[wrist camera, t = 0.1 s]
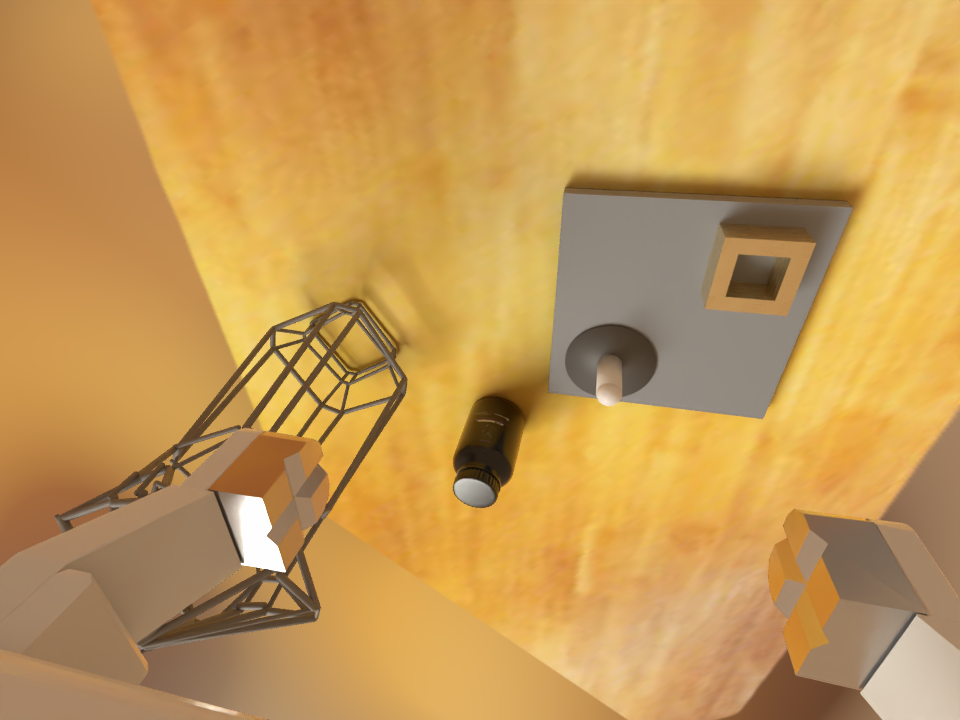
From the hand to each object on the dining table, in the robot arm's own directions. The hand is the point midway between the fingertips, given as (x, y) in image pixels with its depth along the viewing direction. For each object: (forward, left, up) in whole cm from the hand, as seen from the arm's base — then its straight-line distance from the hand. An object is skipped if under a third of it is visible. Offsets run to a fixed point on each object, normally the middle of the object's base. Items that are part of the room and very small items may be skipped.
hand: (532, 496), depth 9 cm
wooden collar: (+12, +14, -37) cm, 42 cm away
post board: (+18, +9, -39) cm, 44 cm away
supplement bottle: (+35, -8, -39) cm, 53 cm away
